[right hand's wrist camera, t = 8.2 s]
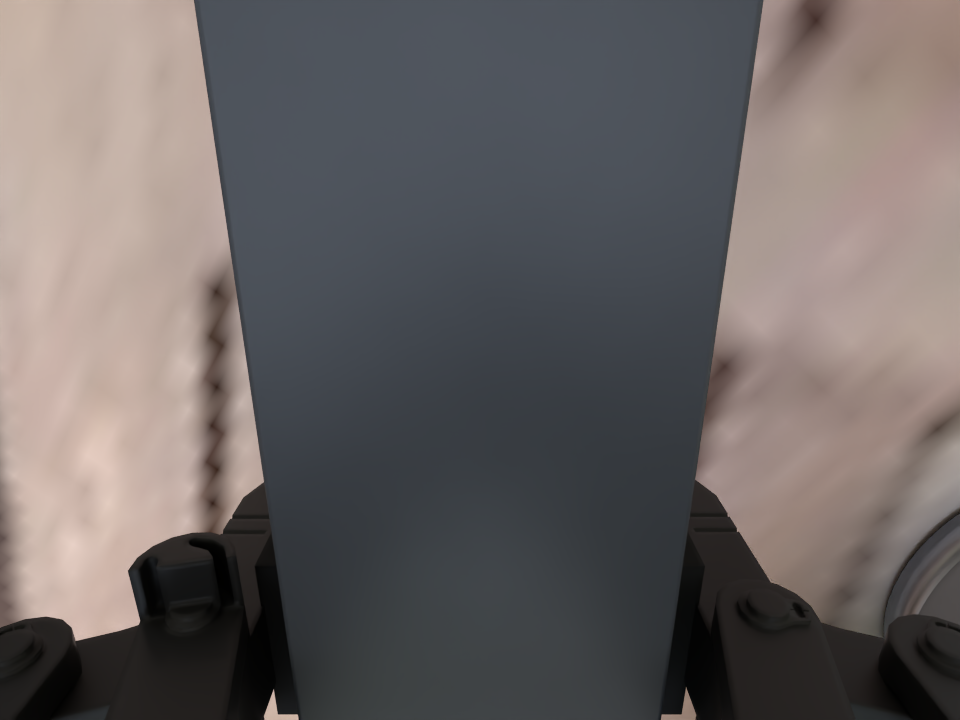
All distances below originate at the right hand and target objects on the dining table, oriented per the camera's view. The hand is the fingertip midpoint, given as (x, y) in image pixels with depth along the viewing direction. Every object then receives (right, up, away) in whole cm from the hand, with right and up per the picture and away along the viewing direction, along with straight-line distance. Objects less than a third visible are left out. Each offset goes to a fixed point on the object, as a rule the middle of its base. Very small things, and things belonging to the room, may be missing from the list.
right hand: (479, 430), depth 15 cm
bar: (0, +19, -7) cm, 20 cm away
